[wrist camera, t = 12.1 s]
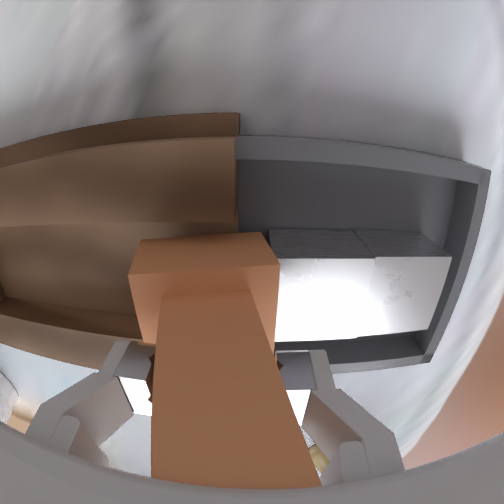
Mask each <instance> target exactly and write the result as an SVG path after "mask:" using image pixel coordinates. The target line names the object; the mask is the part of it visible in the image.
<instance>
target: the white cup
mask: <svg viewBox="0 0 504 504" xmlns="http://www.w3.org/2000/svg"><path fill="white" fill-rule="evenodd" d="M17 400H18V394H17V392H16V390H15V388H14V387H13V386H12V384H11V383H10V382H9V381H8V379H7V378H6V377H5V376H4V375H3V374H2V373H1V372H0V421H2V422H4V423H5V424H7V422H8V420H9V418H10V416H11V411H12V410H13V408H14V406H15V404H16V402H17Z"/></svg>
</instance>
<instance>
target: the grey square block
mask: <svg viewBox="0 0 504 504" xmlns="http://www.w3.org/2000/svg"><path fill="white" fill-rule="evenodd" d="M353 232H354V233H355V234H356V235H357V236H358V238H359V239H360V240H361V241H362V242H363V244H364V245H365V246H366V247H367V249H368V250H369V251H370V252H371V254H372V255H373V256H374V257H375V264H374V269H373V274H372V279H371V283H370V287H369V292H368V296H367V300H366V304H365V308H364V312H363V316H362V320H361V324H360V327H359V331H358V334H357V337H358V336H370V335H381V334H391V333H401V332H410V331H418V330H425V329H428V327H429V325H430V322H431V319H432V317H433V314H434V312H435V309H436V306H437V304H438V301H439V298H440V295H441V292H442V289H443V286H444V283H445V280H446V277H447V274H448V270H449V267H450V263H451V260H452V256H451V255H450V254H448V253H447V252H446V251H445V250H444V249H443V248H441V247H440V246H439V245H438V244H437V243H435V242H434V241H433V240H432V239H430V238H429V237H428V236H427V235H425V234H424V233H423V232H422V231H398V230H370V229H353Z"/></svg>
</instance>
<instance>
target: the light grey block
mask: <svg viewBox="0 0 504 504" xmlns="http://www.w3.org/2000/svg"><path fill="white" fill-rule="evenodd" d="M268 244H269V246H270V248H271V249H272V251H273V253H274V254H275V256H276V258H277V259H278V261H279V263H280V279H279V293H278V307H277V320H276V332H275V341H311V340H332V339H348V338H357V334H358V331H359V327H360V324H361V320H362V316H363V312H364V308H365V304H366V300H367V296H368V292H369V287H370V283H371V279H372V274H373V269H374V264H375V257H374V256H373V255H372V254H371V252H370V251H369V250H368V249H367V247H366V246H365V245H364V244H363V242H362V241H361V240H360V239H359V238H358V236H357V235H356V234H355V233H354V232H353V231H351V230H305V229H269V233H268Z"/></svg>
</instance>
